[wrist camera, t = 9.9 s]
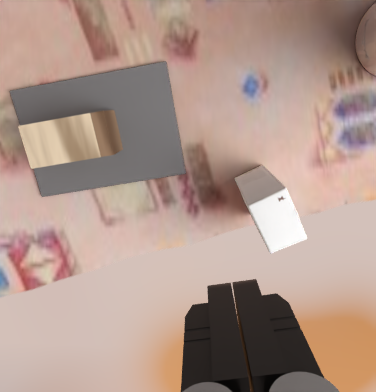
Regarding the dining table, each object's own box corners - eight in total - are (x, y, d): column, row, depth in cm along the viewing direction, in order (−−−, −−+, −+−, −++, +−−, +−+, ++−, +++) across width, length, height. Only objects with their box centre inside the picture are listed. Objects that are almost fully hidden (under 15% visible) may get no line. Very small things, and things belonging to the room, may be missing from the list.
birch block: (103, 110, 35) (17, 126, 36) (113, 154, 36) (30, 168, 37) (114, 110, 40) (38, 123, 41) (123, 149, 41) (50, 161, 42)
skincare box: (232, 177, 42) (246, 204, 31) (262, 163, 42) (287, 185, 30) (250, 216, 44) (270, 255, 32) (279, 203, 43) (310, 238, 32)
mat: (166, 61, 39) (165, 61, 38) (185, 172, 42) (185, 173, 42) (11, 91, 40) (9, 90, 40) (43, 196, 44) (42, 196, 43)
